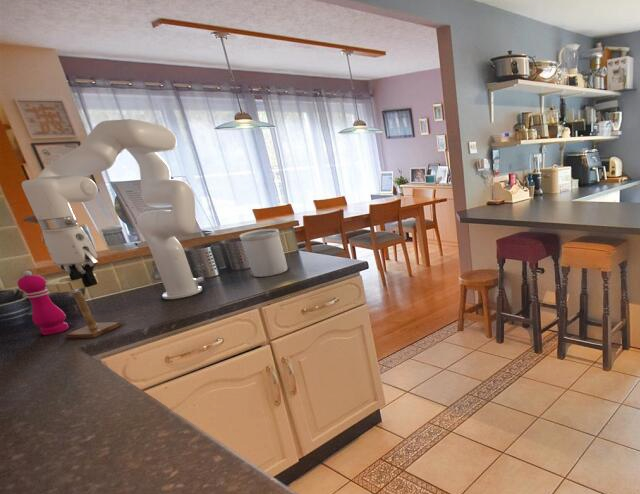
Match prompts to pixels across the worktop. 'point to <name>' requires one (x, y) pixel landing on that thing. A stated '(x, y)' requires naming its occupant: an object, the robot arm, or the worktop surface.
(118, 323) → the wooden peg stand
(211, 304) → the worktop surface
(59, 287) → the tape
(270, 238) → the utensil holder
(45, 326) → the pepper mill
